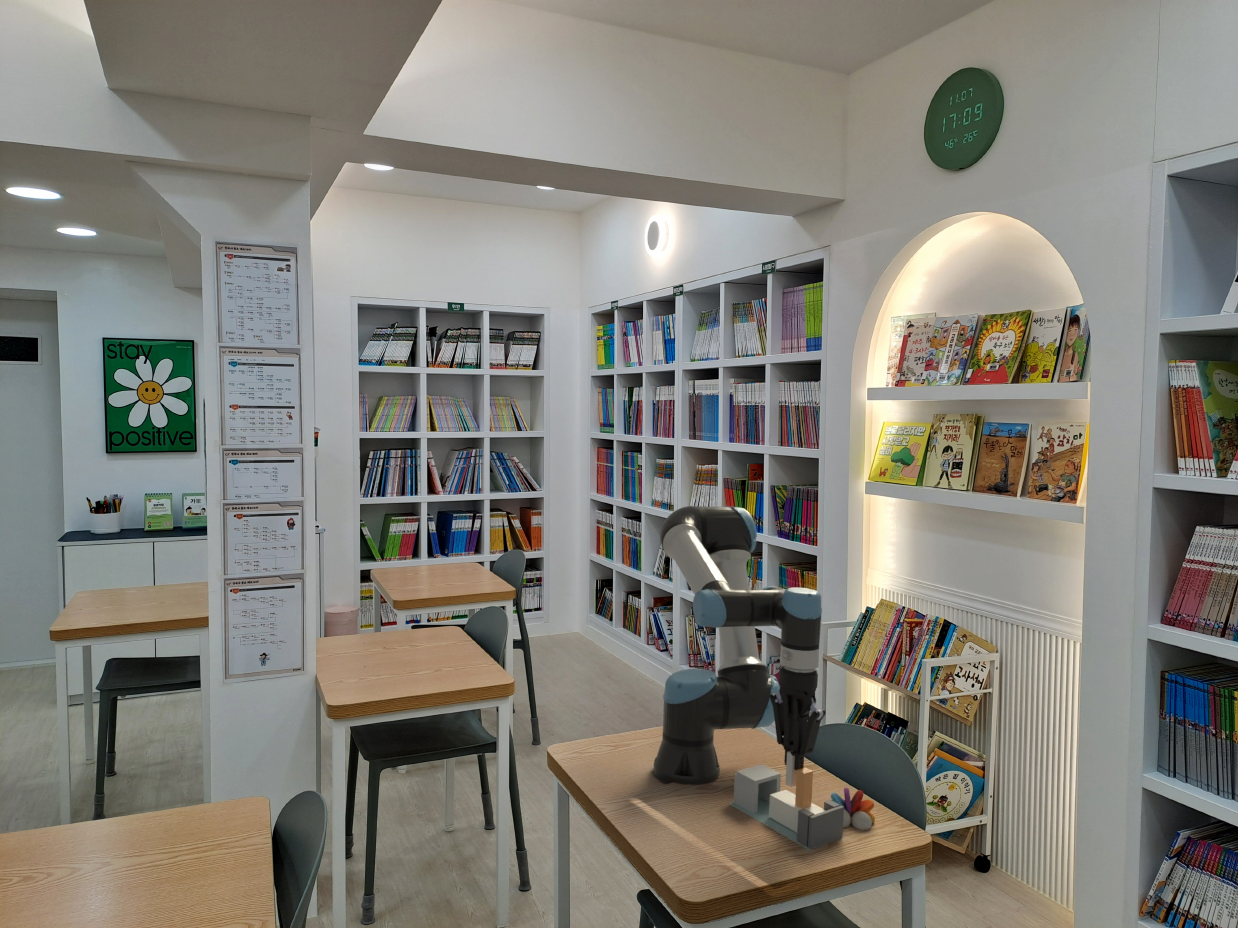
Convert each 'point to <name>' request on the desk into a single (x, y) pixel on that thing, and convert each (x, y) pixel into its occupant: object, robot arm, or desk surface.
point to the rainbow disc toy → (855, 809)
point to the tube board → (811, 829)
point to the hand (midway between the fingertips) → (792, 783)
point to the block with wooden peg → (793, 801)
